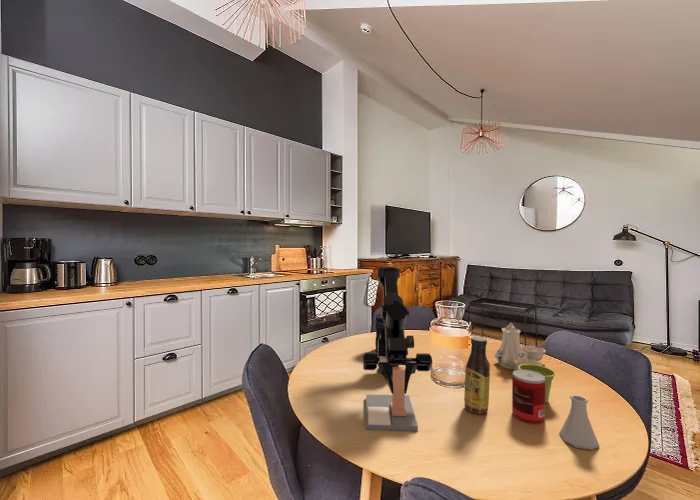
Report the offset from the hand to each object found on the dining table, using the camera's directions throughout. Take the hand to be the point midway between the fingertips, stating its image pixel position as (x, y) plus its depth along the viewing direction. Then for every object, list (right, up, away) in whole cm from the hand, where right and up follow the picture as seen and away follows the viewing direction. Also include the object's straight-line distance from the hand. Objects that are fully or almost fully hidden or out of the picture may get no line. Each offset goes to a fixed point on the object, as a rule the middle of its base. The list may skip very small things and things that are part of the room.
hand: (398, 393), depth 84 cm
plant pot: (+42, -7, +11) cm, 44 cm away
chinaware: (+51, -7, +36) cm, 63 cm away
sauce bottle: (+22, -7, +4) cm, 23 cm away
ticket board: (-2, -7, +3) cm, 7 cm away
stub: (0, -5, +1) cm, 5 cm away
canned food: (+34, -7, +1) cm, 35 cm away
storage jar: (+3, -6, +54) cm, 55 cm away
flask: (+40, -7, -9) cm, 42 cm away
